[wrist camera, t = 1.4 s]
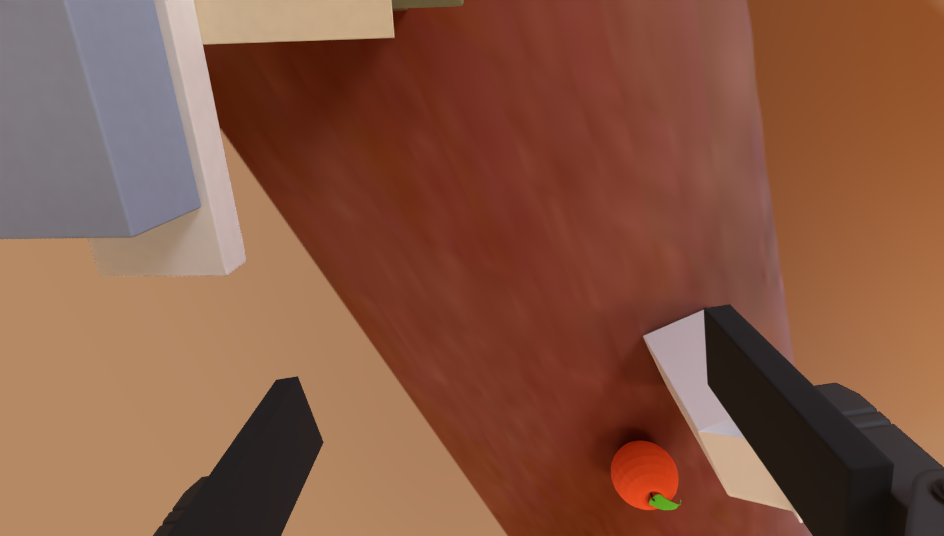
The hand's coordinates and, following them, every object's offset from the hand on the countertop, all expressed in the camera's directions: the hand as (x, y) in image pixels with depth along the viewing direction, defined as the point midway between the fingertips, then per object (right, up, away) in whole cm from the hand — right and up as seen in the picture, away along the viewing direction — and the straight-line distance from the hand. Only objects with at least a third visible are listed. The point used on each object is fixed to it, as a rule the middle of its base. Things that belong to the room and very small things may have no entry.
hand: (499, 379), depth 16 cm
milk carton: (+21, -5, +36) cm, 42 cm away
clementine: (+18, -18, +41) cm, 48 cm away
